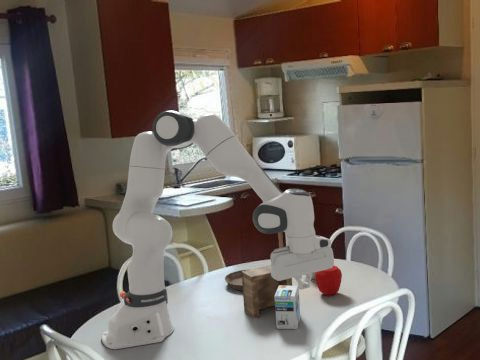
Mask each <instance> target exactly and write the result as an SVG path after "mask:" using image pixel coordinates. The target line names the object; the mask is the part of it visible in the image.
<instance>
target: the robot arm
mask: <svg viewBox="0 0 480 360" xmlns="http://www.w3.org/2000/svg"><path fill="white" fill-rule="evenodd" d="M152 123H153V124H152V131H143V132H140V133H138V134H137V135H136V136H135V138H134V140H133V144H132V148H131V152H130V157H129V166H128V175H127V184H126V192H125V196H124V199H123V202H122V204H121V207H120V210H119V212H118V213H117V214H116V215H115V217H114V218H113V221H112V231H113V234H114V235H115V236H116V237H117V238H118V239H119V240H121V242H123V243H125V244H127V245H131V246H132V256H131V261H130V262H129V264H128V266H127V278H128V289H129V290H128V292H125V291H121V292H120V293H119V297H120V298H121V299H122V300H123V302H124V303H123V305H121V306H120V308H119V309H117V310H116V311H115V312H114V313H113V314H112V315H111V316H110V318H109V320H108V328H107V329H108V330H106V331H103V332H102V335H101V341H102V342H101V343H102V344H103V345H104V346H105V347H106V348H108V349H111V350H118V349H125V348H131V347H139V346H144V345H150V344H157V343H161V342H163V341H164V340H165V338H167V337H168V336H170V335H171V334H172V333H173V332H174V330H175V328H174V325H173V322H172V320H171V316H170V313H169V308H168V301H169V299H168V298H169V297H168V290H167V287H166V286H165V272H164V258H165V253H166V249H167V247H168V246H169V245H170V243H171V241H172V239H173V228H172V225H171V224H170V222H169V221H168V220H166V219H165V218H164V217H162V216H161V215H158V214H154V210H155V207H156V204H157V202H158V200H159V198H161V196H162V195H163V192H164V184H165V172H166V162H167V156H168V153H169V152H170V151H171V152H172V151H177V150H182V149H186V148H189V147H190V146H193V144H194V145H196V146H197V148H199V150H201V152H202V153H203V155H204V156H205V158H206V159H207V160H208V161H209V164H211V166H212V167H213V168H214V169H215V170H216V171H217V172H218V173H219V174H222V175H225V176H231V177H236V178H239V179H241V180H243V181H245V182H246V183H247V184H248V185H249V186H250V187H251V188H252V189H253V191H254V192H255V193H256V195H257V196H258V197H259V198H260V199H261V201H262V203H260V204H259V205H257V207H255V209H254V210H253V213H252V222H253V224H254V227H255V228H256V229H257V231H259V232H260V233H262V234H265V235H272V234H278V233H281V232H283V233H284V234H285V244H286V245H285V246H284V247H279V248H275V249H273V251H271V253H270V258H269V259H270V265H271V276H272V278H273V279H275V280H277V281H281V280H285V279H289V278H292V279H293V278H294V279H295V281H296V282H297V284H298V285H297V286H299V290H300V291H301V290H305V289H309V288H311V285H310V284H311V280H312V279H311V278H312V273H314V272H318V271H322V270H326V269H330V268H332V267H333V265H334V266H335V257H334V251H333V248H332V247H331V245H332V241H331V239H329V238H327V237H325V236H321V235H317V234H316V230H315V227H314V226H315V225H314V222H315V212H314V211H315V210H314V209H315V208H314V204H313V199H312V196H311V194H310V193H309V192H308V191H306V190H304V189H301V188H288V189H286V190H285V191H283V190H281V189H280V188H279V187H278V186H277V185H276V184H275V183H274V181H273V180H272V179H271V178H270V176H269V175H268V174H267V173H266V171H264V169H263V167H261V166H260V165H259V164H258V162H257V161H256V160H255V159H254V158H253V156H251V154H250V153H249V152H248V151H247V150H246V148H245V147H244V146H243V144H242V143H241V142H240V140H239V139H238V138H237V136H236V134H235V133H234V132H233V131H232V130H231V129H230V127H229V126H228V125H227V124H226V123H225V122H224V121H223V120H222V119H221V118H220V117H219V116H217V114H215V113H205V114H202V115H201V116H199V117H198V118H196V119H193V118H192V117H191V116H189V115H187V114H186V113H184V112H181V111H176V110H166V111H163V112H161V113H159V114H158V115H157V116H156V117H155V119H154V121H153V122H152ZM303 276H305V278H304V281H302V278H303Z"/></svg>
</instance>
